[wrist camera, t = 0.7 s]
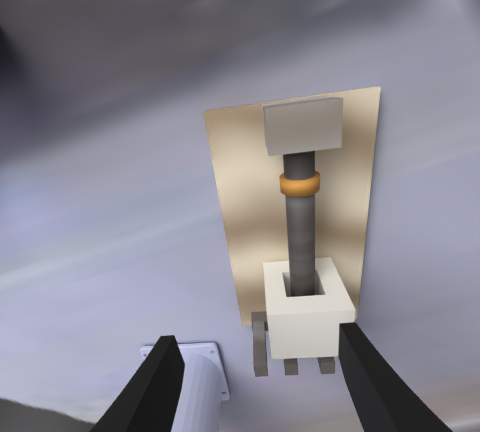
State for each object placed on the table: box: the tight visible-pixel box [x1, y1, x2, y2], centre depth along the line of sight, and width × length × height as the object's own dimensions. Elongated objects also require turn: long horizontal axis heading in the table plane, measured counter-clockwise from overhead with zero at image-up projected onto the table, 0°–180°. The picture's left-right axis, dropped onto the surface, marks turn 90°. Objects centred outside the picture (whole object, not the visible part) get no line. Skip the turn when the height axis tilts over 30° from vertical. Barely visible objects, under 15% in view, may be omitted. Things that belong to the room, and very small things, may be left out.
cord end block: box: [263, 257, 355, 359], centre depth 18 cm, size 4×5×5 cm
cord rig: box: [203, 87, 381, 377], centre depth 17 cm, size 18×10×6 cm, turn 7°
